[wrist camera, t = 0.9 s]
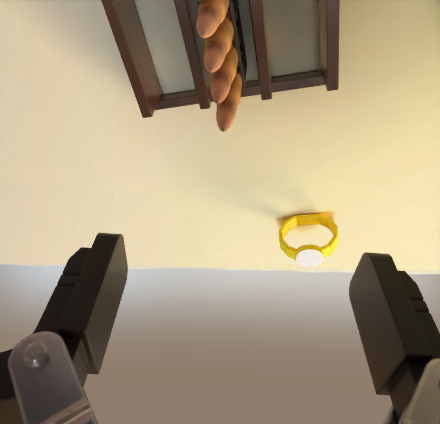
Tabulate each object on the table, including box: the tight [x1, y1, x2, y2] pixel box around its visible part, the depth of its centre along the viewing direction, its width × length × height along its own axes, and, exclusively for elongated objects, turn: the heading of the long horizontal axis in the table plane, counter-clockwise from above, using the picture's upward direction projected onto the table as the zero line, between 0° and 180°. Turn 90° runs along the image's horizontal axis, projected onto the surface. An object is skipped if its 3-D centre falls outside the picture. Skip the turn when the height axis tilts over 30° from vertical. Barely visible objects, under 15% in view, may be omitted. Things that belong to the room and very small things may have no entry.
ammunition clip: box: [196, 0, 247, 132], centre depth 23 cm, size 11×2×12 cm, turn 11°
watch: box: [279, 213, 338, 268], centre depth 39 cm, size 6×3×6 cm, turn 104°
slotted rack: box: [101, 0, 339, 118], centre depth 26 cm, size 15×15×4 cm
